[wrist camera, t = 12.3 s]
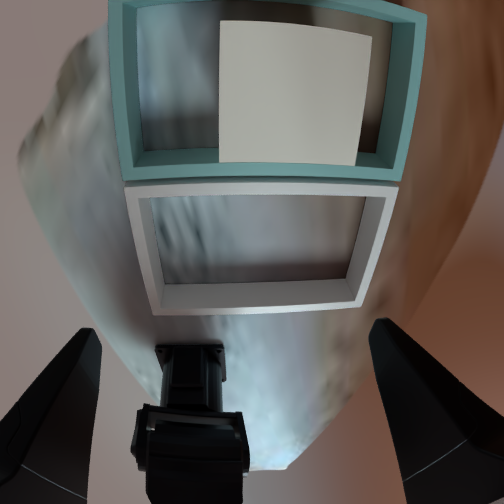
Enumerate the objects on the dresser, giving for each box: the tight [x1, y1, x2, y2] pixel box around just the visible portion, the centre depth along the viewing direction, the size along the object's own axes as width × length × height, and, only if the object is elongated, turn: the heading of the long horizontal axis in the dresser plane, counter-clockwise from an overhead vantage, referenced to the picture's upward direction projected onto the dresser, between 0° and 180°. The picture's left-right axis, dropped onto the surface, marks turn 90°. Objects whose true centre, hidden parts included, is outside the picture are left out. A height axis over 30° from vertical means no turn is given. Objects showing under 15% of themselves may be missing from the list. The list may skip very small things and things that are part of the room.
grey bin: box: [124, 176, 399, 316], centre depth 20 cm, size 10×15×2 cm, turn 88°
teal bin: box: [108, 0, 427, 181], centre depth 14 cm, size 10×15×2 cm, turn 88°
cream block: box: [219, 21, 372, 166], centre depth 12 cm, size 5×5×7 cm
